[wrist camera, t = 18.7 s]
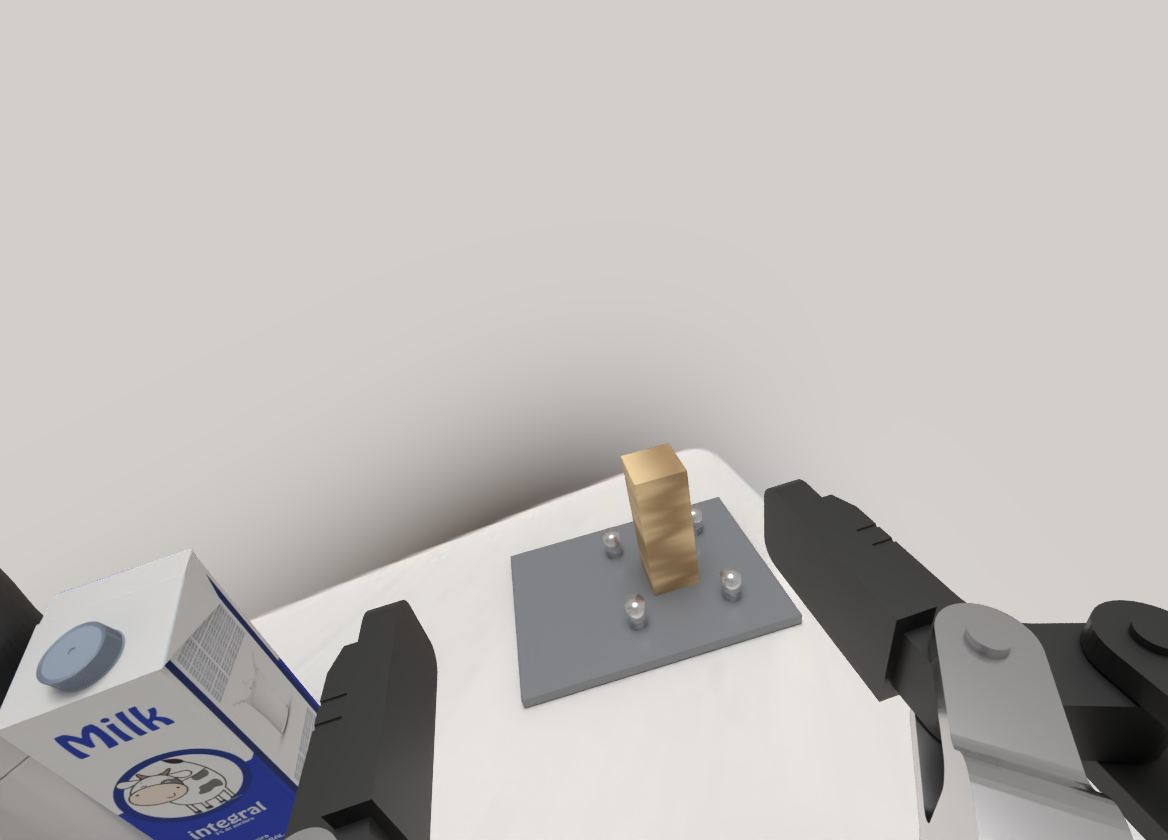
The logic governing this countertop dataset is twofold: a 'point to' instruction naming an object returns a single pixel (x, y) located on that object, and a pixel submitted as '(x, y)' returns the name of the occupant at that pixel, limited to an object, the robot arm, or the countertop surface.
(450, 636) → the countertop surface
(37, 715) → the milk carton
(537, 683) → the plate
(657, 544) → the oak block
